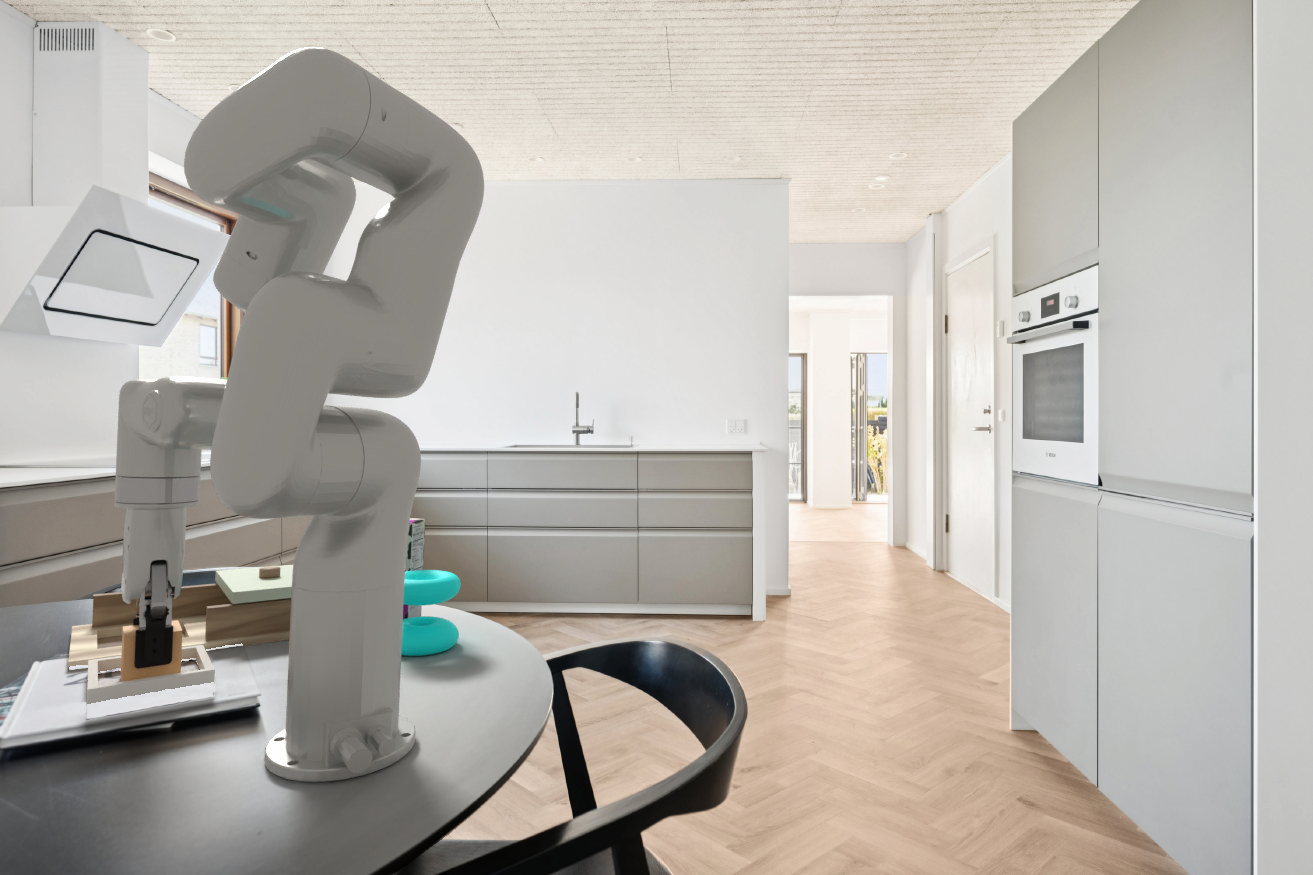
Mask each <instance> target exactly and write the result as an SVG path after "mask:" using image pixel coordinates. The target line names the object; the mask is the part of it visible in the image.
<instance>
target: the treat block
mask: <svg viewBox="0 0 1313 875" xmlns="http://www.w3.org/2000/svg"><path fill="white" fill-rule="evenodd" d="M171 626H173V648H172V662H171V663H170V664H166V665H160V666H153V667H146V668H139V669H137V668H135V665H134V659H135V636H136V630H139V625H131V626H123V631H122V654H121V671H120V677H121V678H120V679H121V682H123V681H130V680H136V679H143V678H149V677H156V676H162V675H168V674H175V673H181V672H182V662H181V652H182V628H181V626H180V624H179V621H178V620H175V621H172V625H171Z"/></svg>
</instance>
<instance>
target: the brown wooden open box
mask: <svg viewBox="0 0 1313 875" xmlns="http://www.w3.org/2000/svg"><path fill="white" fill-rule="evenodd" d="M92 596H93V597H92V598H93V599H92V617H91V618H92V621H91V624H80V625H79V624H78V625H72V626H71V636H70V644H69V653H68V661H67V662H68V663H67V664H68V665H67V668H68V667H70V666H76V665H88V660H93V659H100V658H108V657H115V656H121V654H122V631H123V626H131V625H133V618H137V617H136V602H137V599H133V600H132V601H131V604H127V603H126V602H124V601H123V598H122V592H121V591H118V592H107V593H96V594H95V593H94V594H93V595H92ZM290 613H291V598H285V599H276V600H267V601H257V602H248V603H239V604H232V603H231V601H230V600H229V599H228V597H227V596H226V595H225V593H224V592H223V591H222V589H221V588H220V587H219V585H218V584H217V583H208V584H207V583H206V584H195V585H194V584H193V585H184V586H181V593H180V595H179V596H178V597H177V598H175V599H173V598H172V621H175V620H178V621H179V624H180V626H181V628H182V647H188V646H196V645H203V646H204V648H205V650H206V649H211V648H216V647H222V646H225V645H235V644H241V643H242V644H243V647H249V646H255V645H262V644H263V645H264V644H270V643H275V642H276V643H278V642H283V641H289V637H290Z"/></svg>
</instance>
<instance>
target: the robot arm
mask: <svg viewBox="0 0 1313 875" xmlns="http://www.w3.org/2000/svg"><path fill="white" fill-rule="evenodd" d="M183 162H184V163H183V170H184V175H185V179H186V182H187V185H188V187H189V188H190V189H191V191H192V192H193V194H195V195H196V196H197V197H198V199H200V200H202V201H204V202H206V203H208V204H210V205H212V206H214V207H217V208H221V209H224V210H228V211H230V212H233V213H236V214H239V216H238V217H237V219H236V223H235V225H234V226H233V229H232V231H231V234H230V236H229V239H228V241H227V243H226V245H225V247H224V249H223V253H222V255H221V257H220V259H219V261H218V264H216V268H215V269H214V272H213V276H212V279H213V280H212V282H213V285H214V287H215V288H216V290H217V291H218V292H219V294H220V295H221V296H222V297H223V298H224V299H225V300H226V301H227V302H229V303H230V304H232V305H233V306H234V307H236V308H237V309H238V310H240V311H242V312H243V313H244V315H243V317H242V320H241V323H240V327H239V331H238V333H237V336H236V341H235V345H234V349H233V354H232V357H231V361H230V366H229V370H228V375H227V378H226V379H219V378H205V377H198V376H197V377H196V376H183V375H182V376H181V375H180V376H179V375H175V376H166V377H161V378H159V379H149V378H148V379H147V378H145V379H143V378H141V379H138V378H137V379H132V380H128V381H126V382H125V383H124V384H122V386H121V388H120V390H119V395H118V413H117V414H118V416H117V434H116V435H117V437H116V439H117V440H116V457H115V458H116V460H115V461H116V462H115V479H114V480H115V482H114V484H115V486H114V502H113V503H114V505H113V506H114V508H118V509H124V510H125V509H126V512H125V521H124V528H123V543H122V545H123V546H122V564H121V566H122V568H121V585H120V592H122V598H123V601H124V602H126V603H127V604H131V601H132V600H133V599H137V602H136V617H137V618H133V625H139V630H136V636H135V659H134V665H135V668H137V669H139V668H146V667H153V666H160V665H166V664H170V663H171V662H172V648H173V626H171V625H172V598H173V599H175V598H177V597H178V596H179V595H180V593H181V587H182V585H183V584H182V583H183V575H184V574H183V573H184V563H185V550H186V534H187V532H186V531H187V526H186V525H187V508H193V507H197V506H200V498H201V497H200V496H201V495H200V493H201V492H200V491H201V471H202V451H204V450H207V451H208V450H210V458H209V459H210V461H209V462H210V463H209V465H210V466H209V467H210V469H209V470H210V471H209V472H210V478H211V483H212V486H213V487H212V488H213V489H214V491H215V495H216V496H217V498H218V499H219V501H220V503H221V504H223V506H224V507H226V509H228V510H229V511H231V512H233V513H234V514H236V515H238V516H241V517H244V518H249V519H258V520H265V519H266V520H267V519H268V520H270V519H272V520H273V519H275V520H276V519H287V518H288V519H289V518H298V517H307V516H311V519H310V521H309V522H308V524H307V526H306V527H305V530H304V532H303V534H302V535H301V538H300V540H299V542H298V545H297V548H296V552H295V555H294V560H293V564H292V565H293V573H292V589H291V613H290V637H289V640H288V641H289V642H288V664H287V668H288V669H287V687H286V689H287V690H286V691H287V692H286V712H285V713H286V714H285V717H286V718H285V728H284V729H283V730H281V731H280V732H278V733H276V734H275V735H274V736H273V737H272V738H270V740H269V741H268V742H267V744H266V746H265V749H264V758H263V759H264V760H263V761H264V765H265V767H266V768H267V770H268V771H269V772H271V773H272V774H274V775H276V776H278V777H281V778H282V779H287V780H291V781H292V780H293V781H297V782H309V783H311V782H312V783H316V782H317V783H318V782H320V783H321V782H332V781H334V782H335V781H340V780H341V781H342V780H347V779H351V778H357V777H358V778H359V777H361V776H365V775H368V774H371V773H374V772H377V771H379V770H381V769H382V770H383V769H385V768H386V767H389V766H391V765H393V764H395V763H397V762H399V761H400V760H401V759H402V758H404V757H405V756H406V755H408V754H409V752H410V751H411V750H412V749H413V747H414V745H415V743H416V733H417V731H416V727H415V725H414V723H413V722H412V721H410V719H408V718H407V717H405V716H403V715H400V698H401V697H400V696H401V695H400V694H401V692H400V691H401V674H402V673H401V671H402V670H401V669H402V667H401V666H402V655H401V649H402V625H403V600H404V580H405V566H406V548H407V536H408V527H409V521H410V518H411V514H412V509H413V505H414V501H415V496H416V492H417V490H418V489H417V488H418V484H419V481H420V475H421V466H422V464H421V463H422V458H421V457H422V456H421V448H420V445H419V443H418V439H417V437H416V436H415V433H414V432H413V430H412V429H411V428H410V427H409V426H408V424H406V423H405V422H404V421H403V420H401V419H400V418H398V417H396V416H394V415H392V414H390V413H388V412H383V411H381V410H377V409H372V408H363V407H353V406H340V405H339V406H338V405H329V404H328V405H325V402H326V400H327V397H328V395H329V394H330V395H341V396H342V395H343V396H351V397H362V398H363V397H364V398H373V399H398V398H399V399H400V398H404V397H409V396H410V395H412V394H414V393H416V392H417V391H418V390H419V389H420V388H421V387H423V385H424V383H425V382H426V380H427V378H428V376H429V374H430V371H431V368H432V365H433V362H434V359H435V355H436V352H437V347H438V344H439V340H440V338H441V333H442V330H443V326H444V322H445V319H446V316H447V315H446V314H447V312H448V308H449V305H450V301H451V298H452V293H453V290H454V286H455V281H456V277H457V273H458V270H459V266H460V264H461V263H460V262H461V260H462V258H463V256H464V255H463V254H464V252H465V250H466V247H467V245H468V243H469V240H470V238H471V236H472V234H473V232H474V228H476V224H477V221H478V218H479V215H480V213H481V210H482V206H483V202H484V195H485V178H484V171H483V168H482V164H481V162H480V159H479V157H478V155H477V153H476V151H475V150H474V149H473V147H472V146H471V144H470V143H469V142H468V141H467V139H466V138H465V137H463V136H462V135H461V134H460V133H459V132H458V131H457V130H456V128H455V129H454V128H453V127H452V126H451V125H450V124H449V123H447V122H446V121H445V120H443V119H442V118H441V117H439V116H437V114H435V113H433V111H431V110H429V109H428V108H426V107H424V106H423V105H421V104H420V103H418V102H417V101H416V100H414V99H412V98H411V97H409V96H408V95H406V94H405V93H403V92H401V91H400V90H398V89H396V88H394V87H393V86H391V85H390V84H389V83H387V82H386V81H384V80H382V79H381V78H379V77H378V76H376V75H374V74H373V73H371V72H370V71H369V70H367V69H366V68H364V67H362V66H361V65H359V64H358V63H357V62H354V61H353V60H351V59H349V58H348V57H346V56H345V55H342V54H341V53H339V52H337V51H334V50H331V49H328V48H324V47H322V46H321V47H319V46H309V47H308V46H307V47H304V48H298V49H296V50H293V51H290V53H287V54H285V55H284V56H282V57H280V58H279V59H278V60H276V61H275V62H274V63H272V64H271V65H269V66H268V67H267V68H265V69H263V70H262V71H261V72H259V73H258V74H256V75H255V76H254V77H252V78H250V79H249V80H247V82H245V83H244V84H242V85H241V86H239V87H238V88H237V89H235V90H233V92H231V93H230V94H228V95H227V96H225V97H224V98H223V99H222V100H221V101H220V102H219V103H218V104H216V105H215V106H214V107H213V108H212V109H211V110H210V111H209V112H208V113H206V115H205V116H204V117H203V119H202V120H201V121H200V122H199V124H197V126H196V127H195V130H194V131H193V132H192V134H191V137H190V138H189V141H188V143H187V145H186V149H185V152H184V160H183ZM354 179H355V180H357V181H359V182H362V183H363V184H366V185H369V186H370V187H373V188H376V189H377V190H380V191H381V192H384V193H386V194H388V195H391V197H392V198H394V199H392V200H391V201H390V202H388V203H387V204H386V205H384V206H383V207H382V208H381V209H380V210H379V211H378V212H377V213H376V214H375V215H374V216H373V217H372V219H370V220H369V222H368V224H367V225H366V226H365V228H364V229H363V231H362V233H361V235H360V237H359V240H358V244H357V248H356V252H355V258H354V262H353V264H352V266H351V270H350V273H349V275H348V278H347V279H346V280H345V279H341V278H337V277H334V276H330V275H327V274H324V273H325V270H326V268H327V267H328V264H329V262H330V261H331V260H330V259H331V258H332V256H333V254H334V251H335V249H336V247H337V246H338V243H339V241H340V239H341V236H342V234H343V233H344V230H345V228H346V225H347V223H348V222H349V220H350V217H351V215H352V212H354V208H355V205H356V200H357V189H356V185H355V181H354Z"/></svg>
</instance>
